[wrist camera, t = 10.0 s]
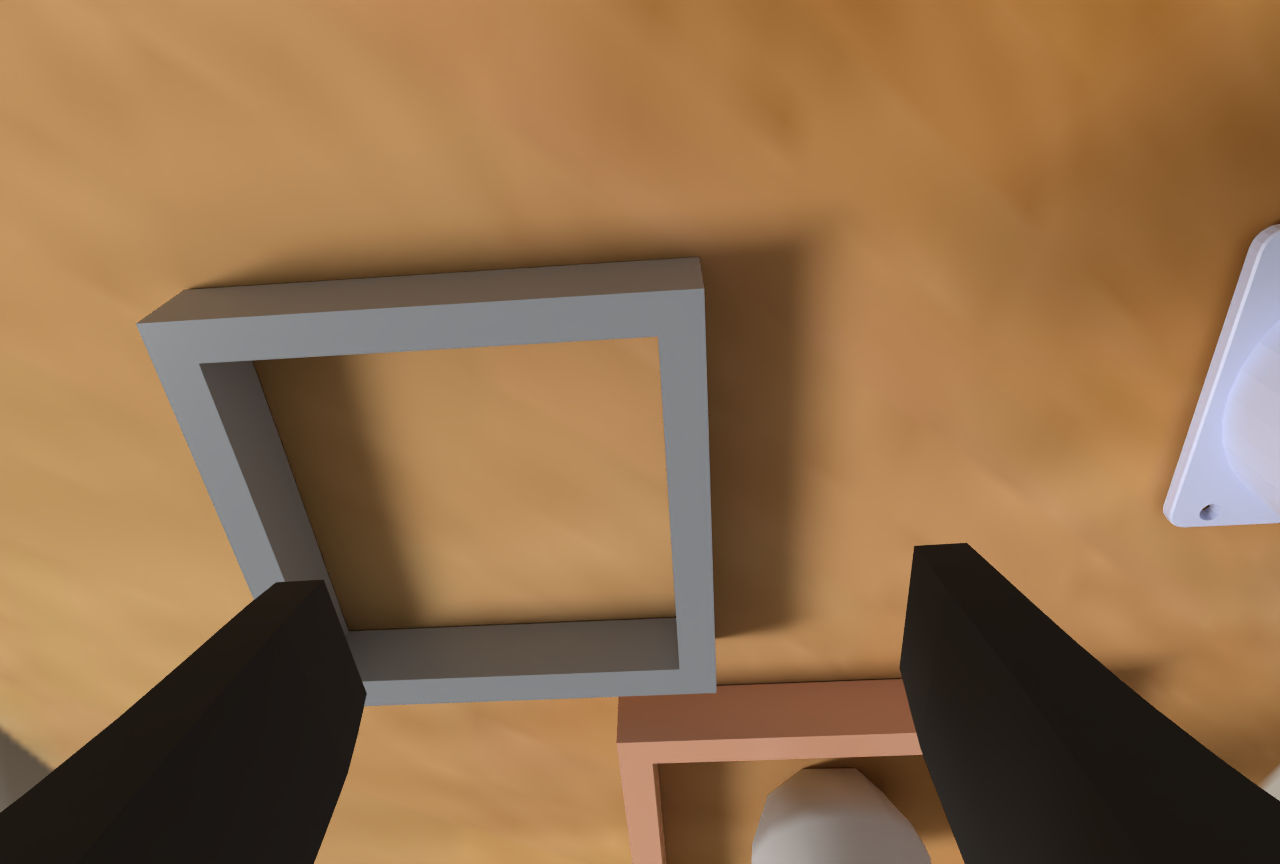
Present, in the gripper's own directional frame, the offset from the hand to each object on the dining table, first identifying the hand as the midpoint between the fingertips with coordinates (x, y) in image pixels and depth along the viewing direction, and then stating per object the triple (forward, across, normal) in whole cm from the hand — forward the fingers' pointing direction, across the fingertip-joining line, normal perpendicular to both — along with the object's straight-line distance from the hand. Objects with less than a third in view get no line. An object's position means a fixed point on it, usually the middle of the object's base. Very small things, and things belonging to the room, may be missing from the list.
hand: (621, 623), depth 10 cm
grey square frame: (+10, +4, +5) cm, 12 cm away
